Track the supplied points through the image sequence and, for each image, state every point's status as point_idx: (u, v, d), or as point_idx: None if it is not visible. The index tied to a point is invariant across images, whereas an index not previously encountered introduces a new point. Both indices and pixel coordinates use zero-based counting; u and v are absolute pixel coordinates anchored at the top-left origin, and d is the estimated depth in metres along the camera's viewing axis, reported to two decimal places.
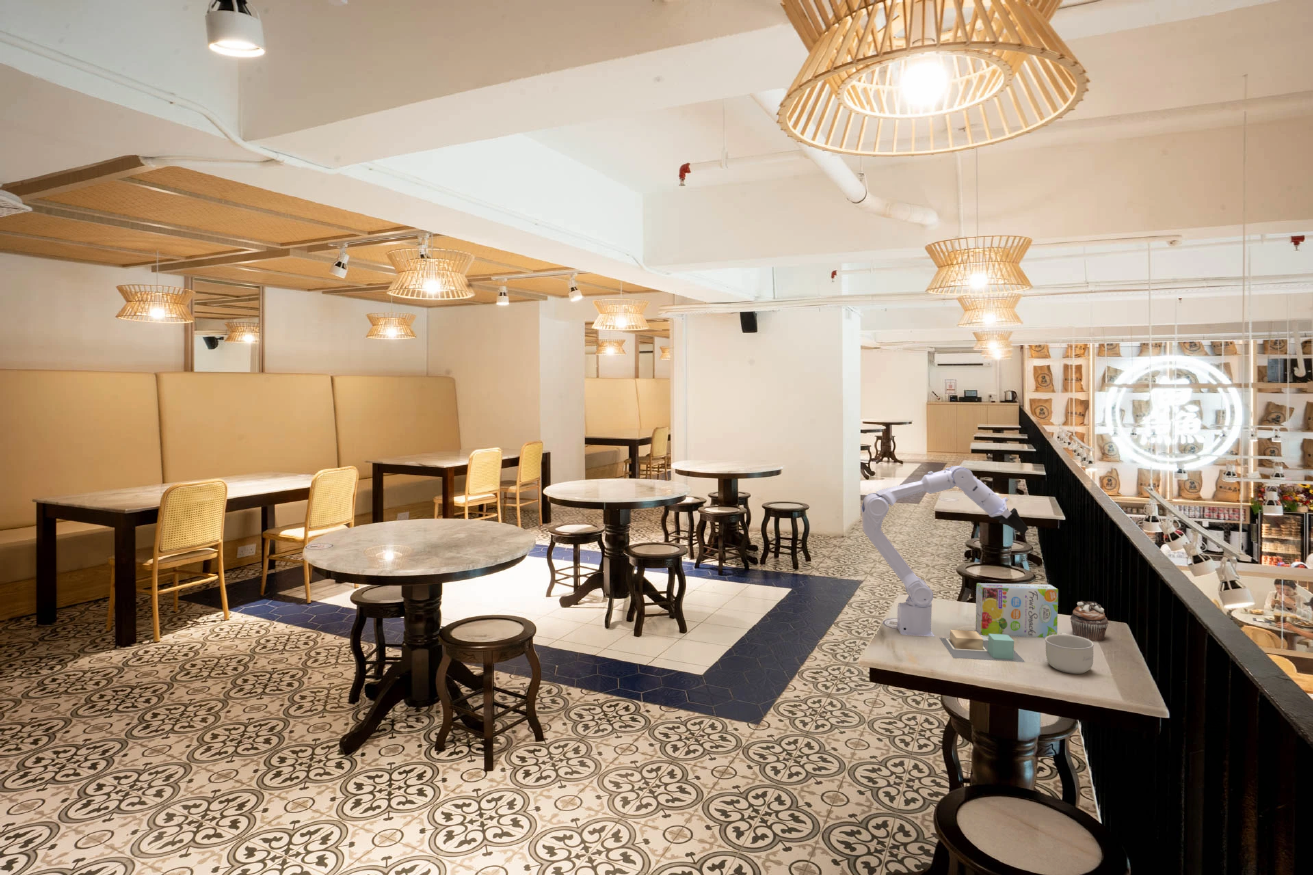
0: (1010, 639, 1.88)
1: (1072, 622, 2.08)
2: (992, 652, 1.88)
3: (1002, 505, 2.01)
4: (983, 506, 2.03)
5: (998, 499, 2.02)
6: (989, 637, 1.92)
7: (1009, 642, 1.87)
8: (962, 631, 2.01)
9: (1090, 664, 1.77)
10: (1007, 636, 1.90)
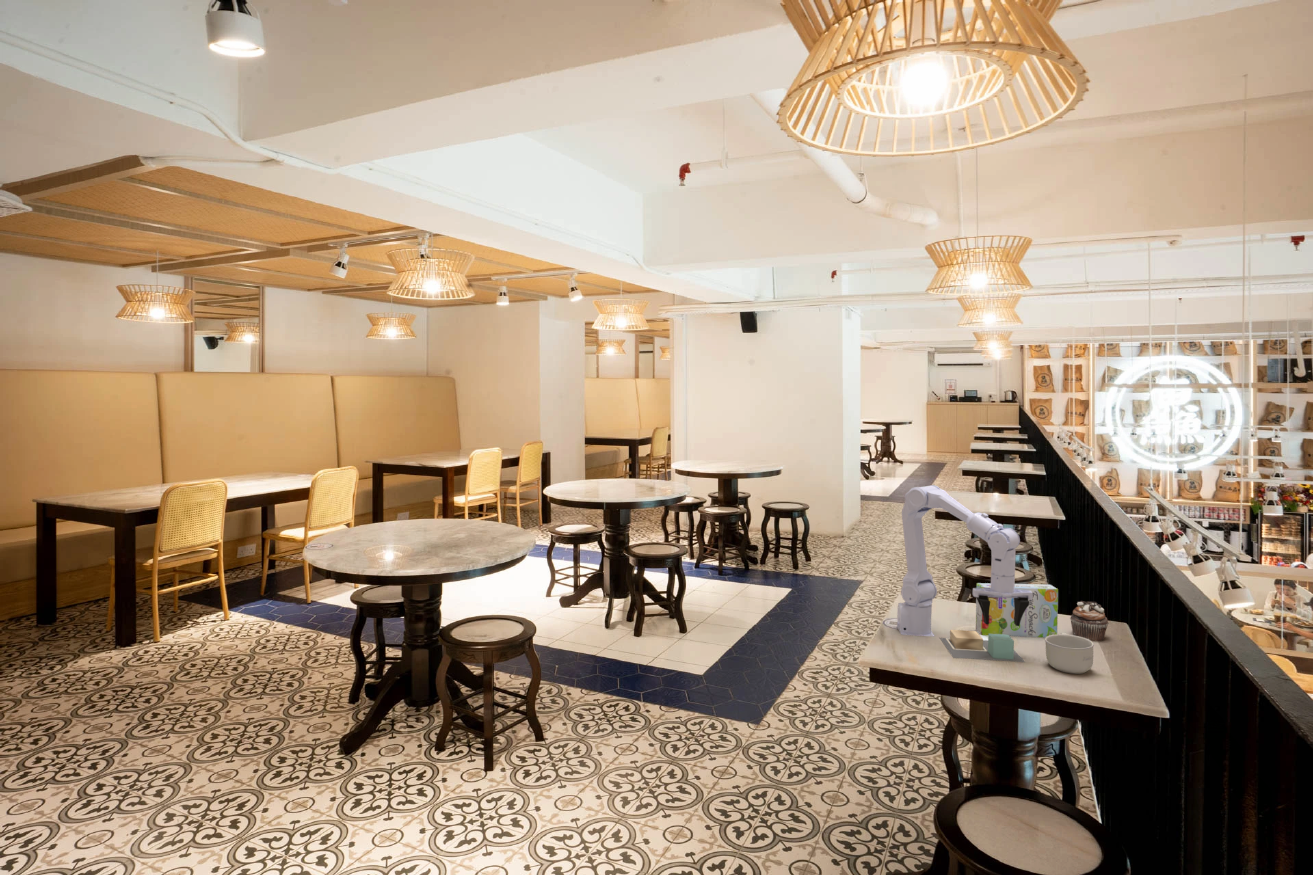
0: (1010, 639, 1.88)
1: (1072, 622, 2.08)
2: (992, 652, 1.88)
3: (993, 591, 1.88)
4: None
5: (997, 585, 1.87)
6: (989, 637, 1.92)
7: (1009, 642, 1.87)
8: (962, 631, 2.01)
9: (1090, 664, 1.77)
10: (1007, 636, 1.90)
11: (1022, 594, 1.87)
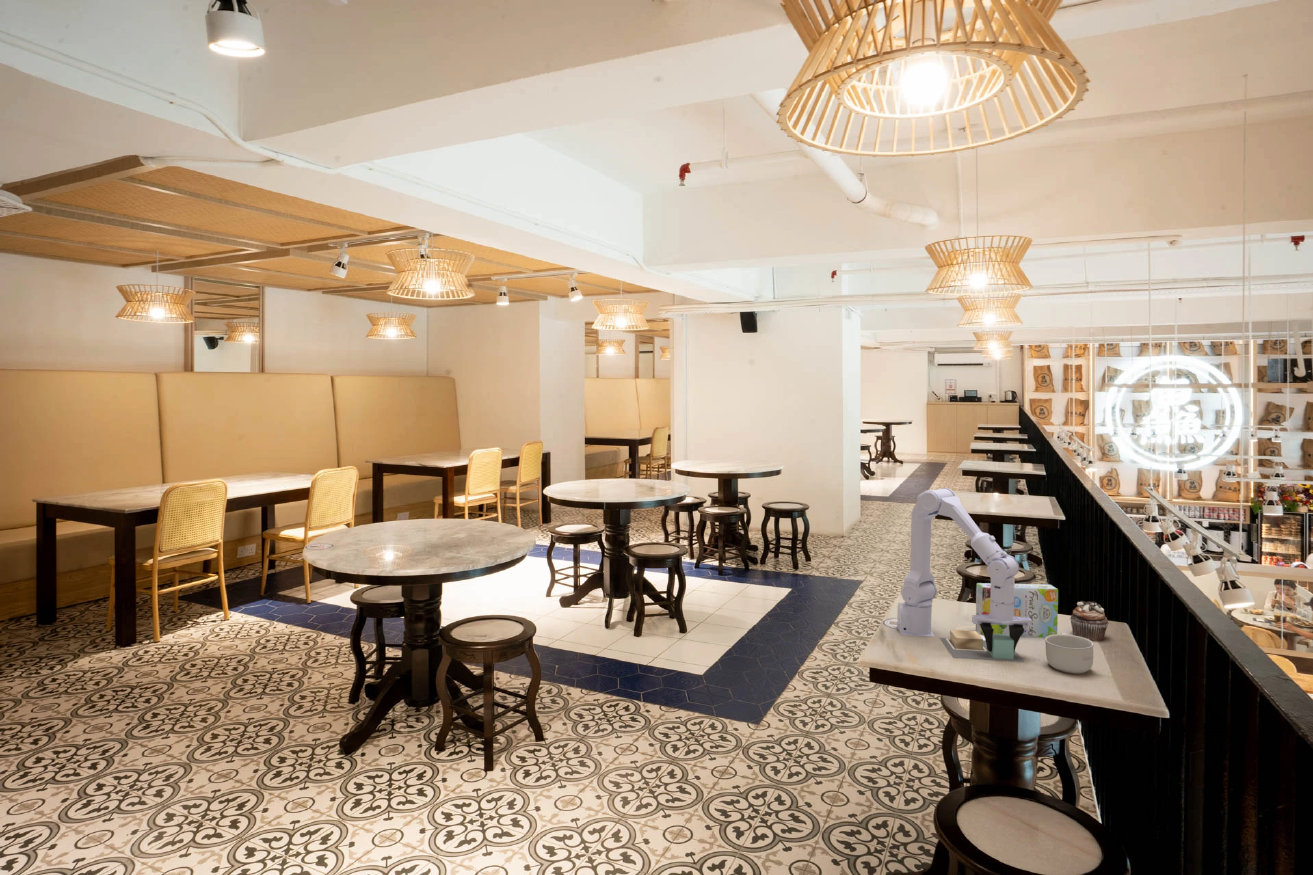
0: (1010, 639, 1.88)
1: (1072, 622, 2.08)
2: (992, 652, 1.88)
3: (992, 618, 1.89)
4: None
5: (996, 612, 1.88)
6: None
7: (1009, 642, 1.87)
8: (962, 631, 2.01)
9: (1090, 664, 1.77)
10: (1007, 636, 1.90)
11: (1021, 621, 1.87)
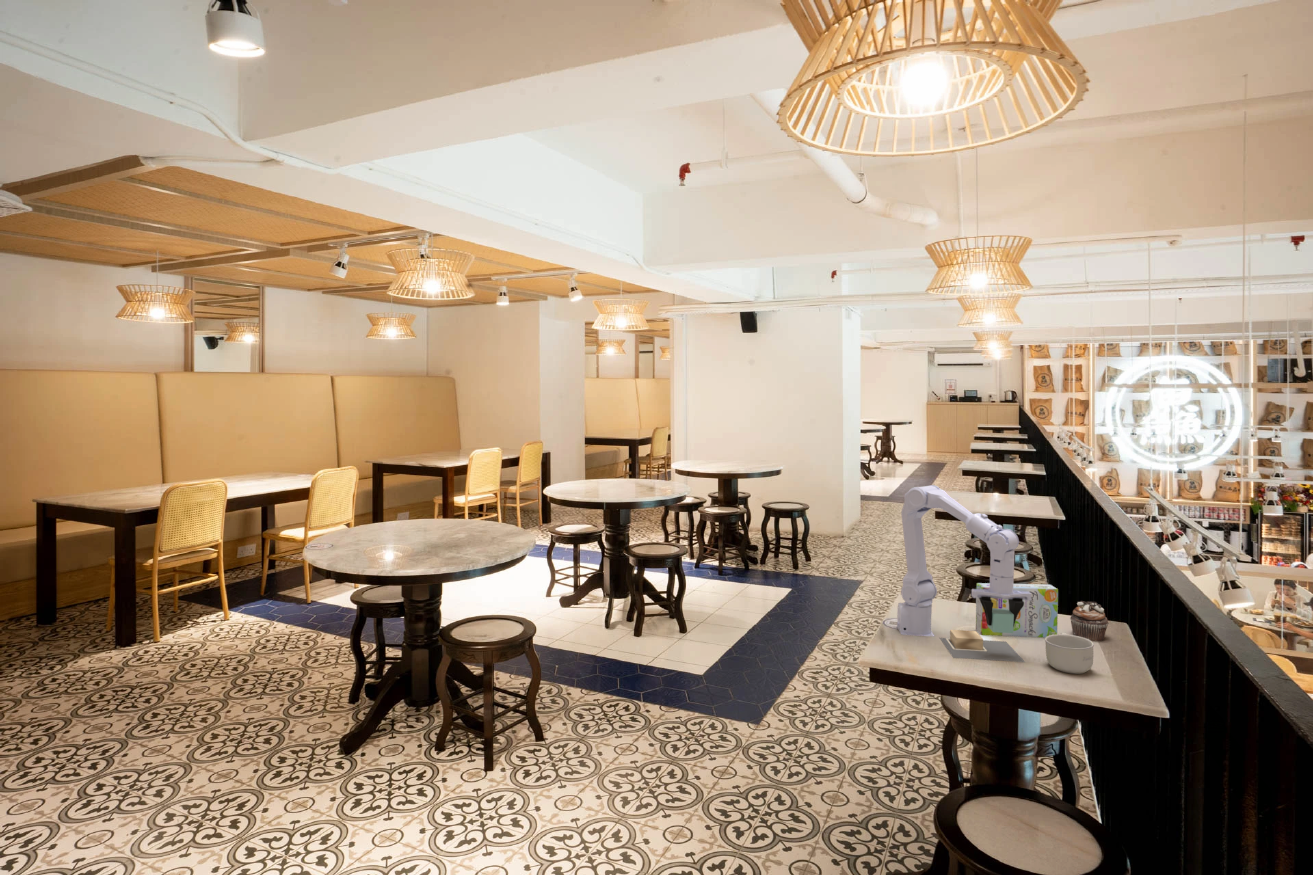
0: (1010, 613, 1.88)
1: (1072, 622, 2.08)
2: (992, 626, 1.88)
3: (992, 592, 1.88)
4: None
5: (995, 586, 1.88)
6: None
7: (1009, 616, 1.87)
8: (962, 631, 2.01)
9: (1090, 664, 1.77)
10: (1007, 610, 1.90)
11: (1021, 595, 1.87)
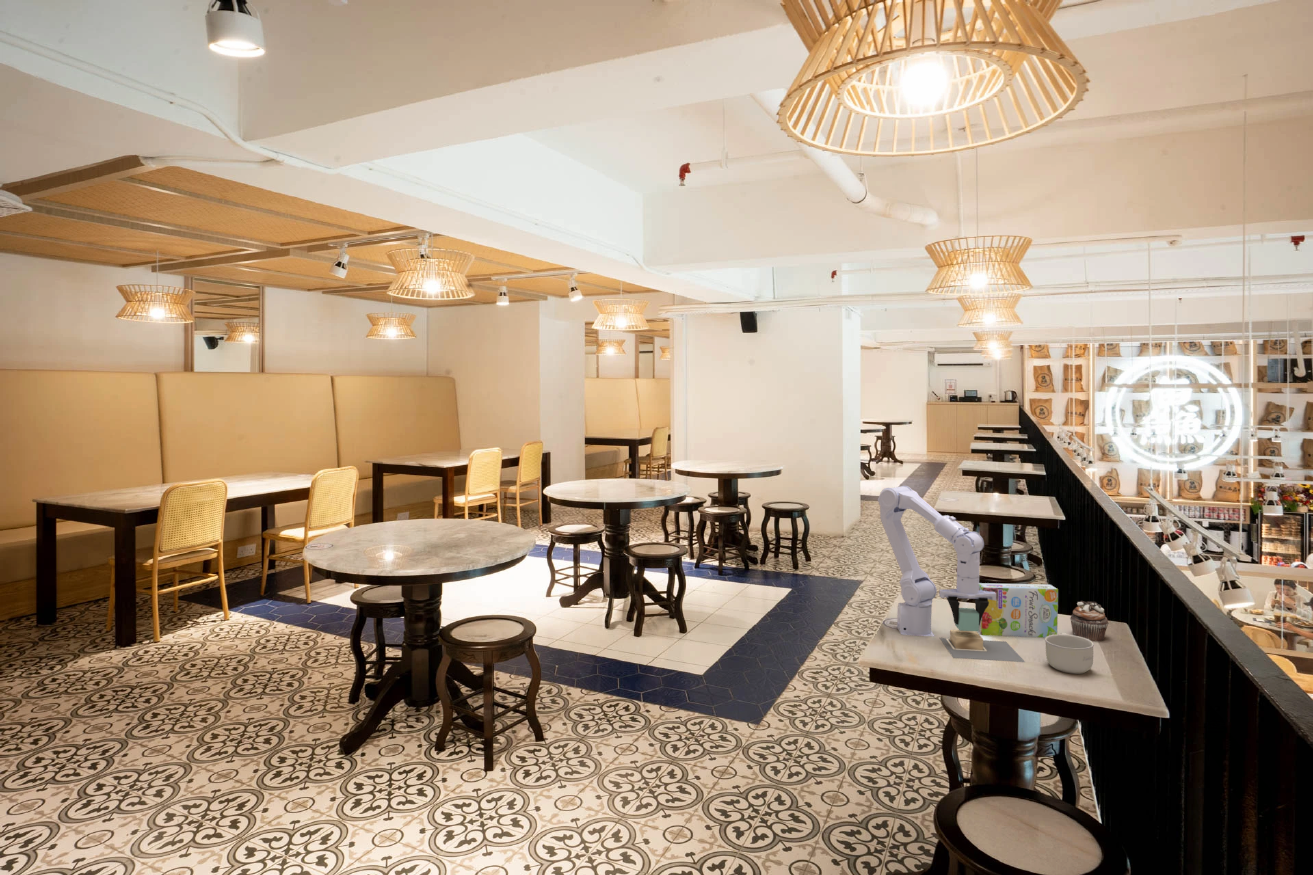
0: (975, 612, 1.96)
1: (1072, 622, 2.08)
2: (959, 624, 1.96)
3: (958, 592, 1.96)
4: None
5: (962, 586, 1.95)
6: None
7: (974, 615, 1.95)
8: (962, 631, 2.01)
9: (1090, 664, 1.77)
10: (973, 609, 1.98)
11: (986, 595, 1.95)
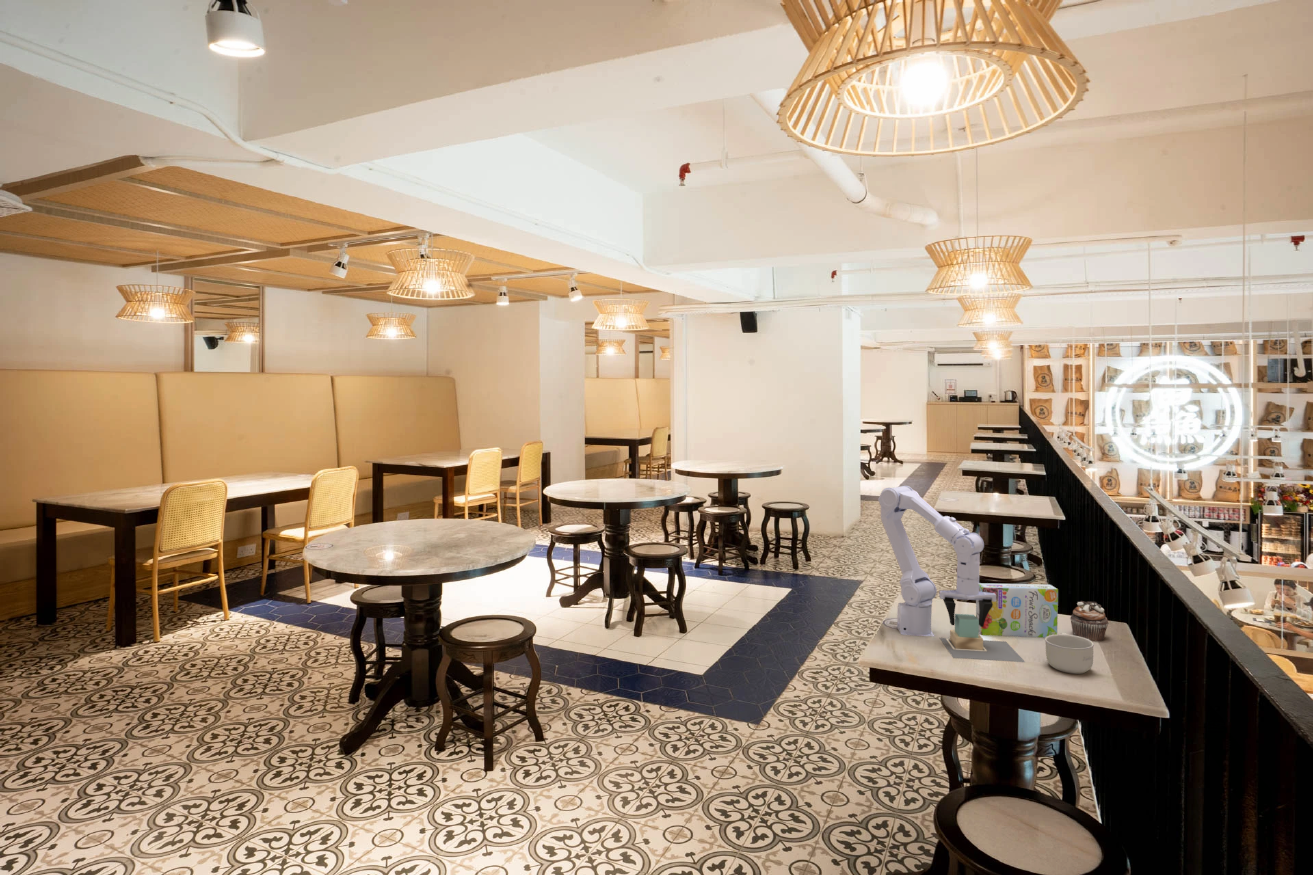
0: (975, 618, 1.96)
1: (1072, 622, 2.08)
2: (958, 631, 1.96)
3: (958, 593, 1.96)
4: None
5: (962, 587, 1.95)
6: (956, 617, 1.99)
7: (974, 621, 1.95)
8: None
9: (1090, 664, 1.77)
10: (973, 616, 1.98)
11: (986, 596, 1.95)
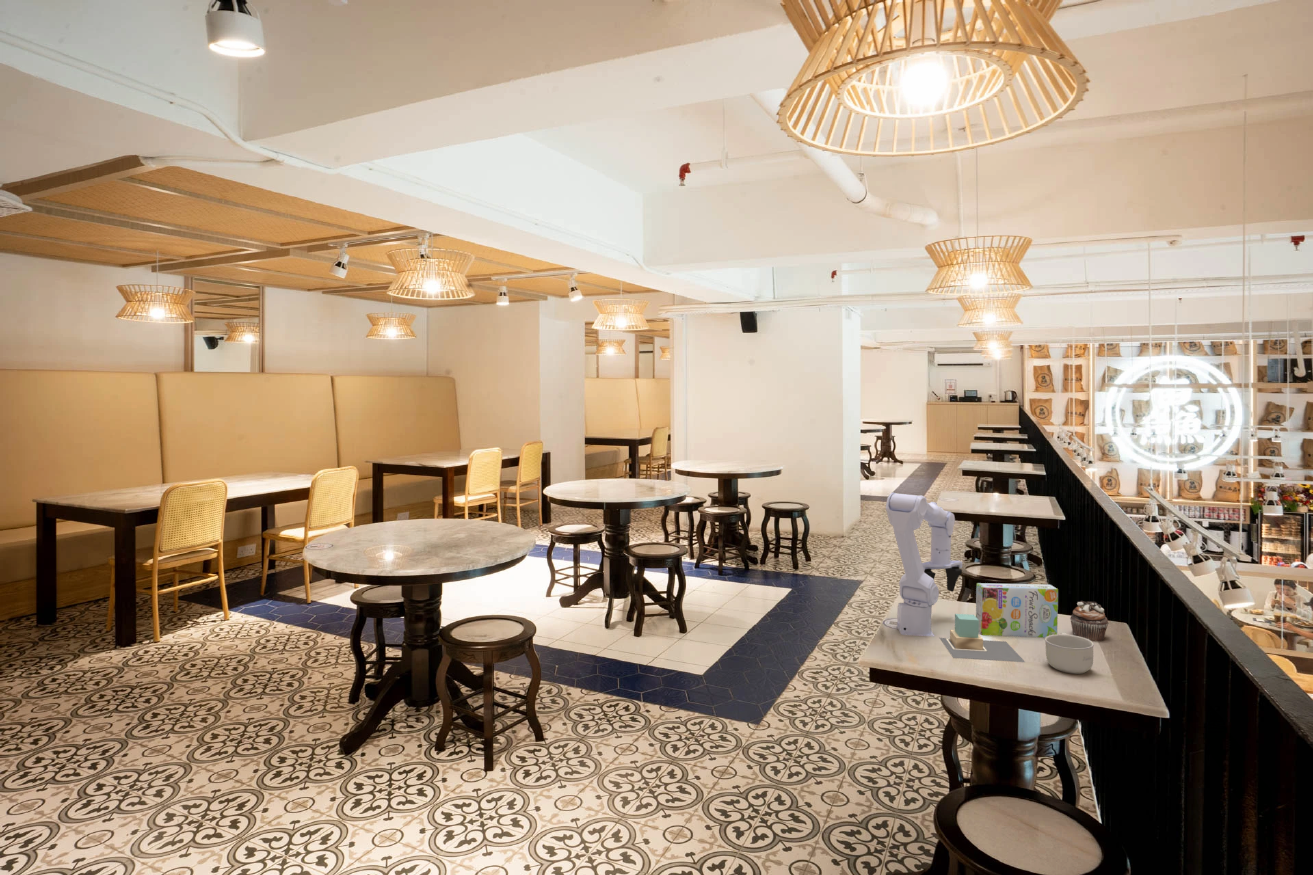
0: (975, 618, 1.96)
1: (1072, 622, 2.08)
2: (958, 631, 1.96)
3: (936, 564, 2.17)
4: None
5: (939, 558, 2.17)
6: (956, 617, 1.99)
7: (974, 621, 1.95)
8: None
9: (1090, 664, 1.77)
10: (973, 616, 1.98)
11: (956, 564, 2.19)
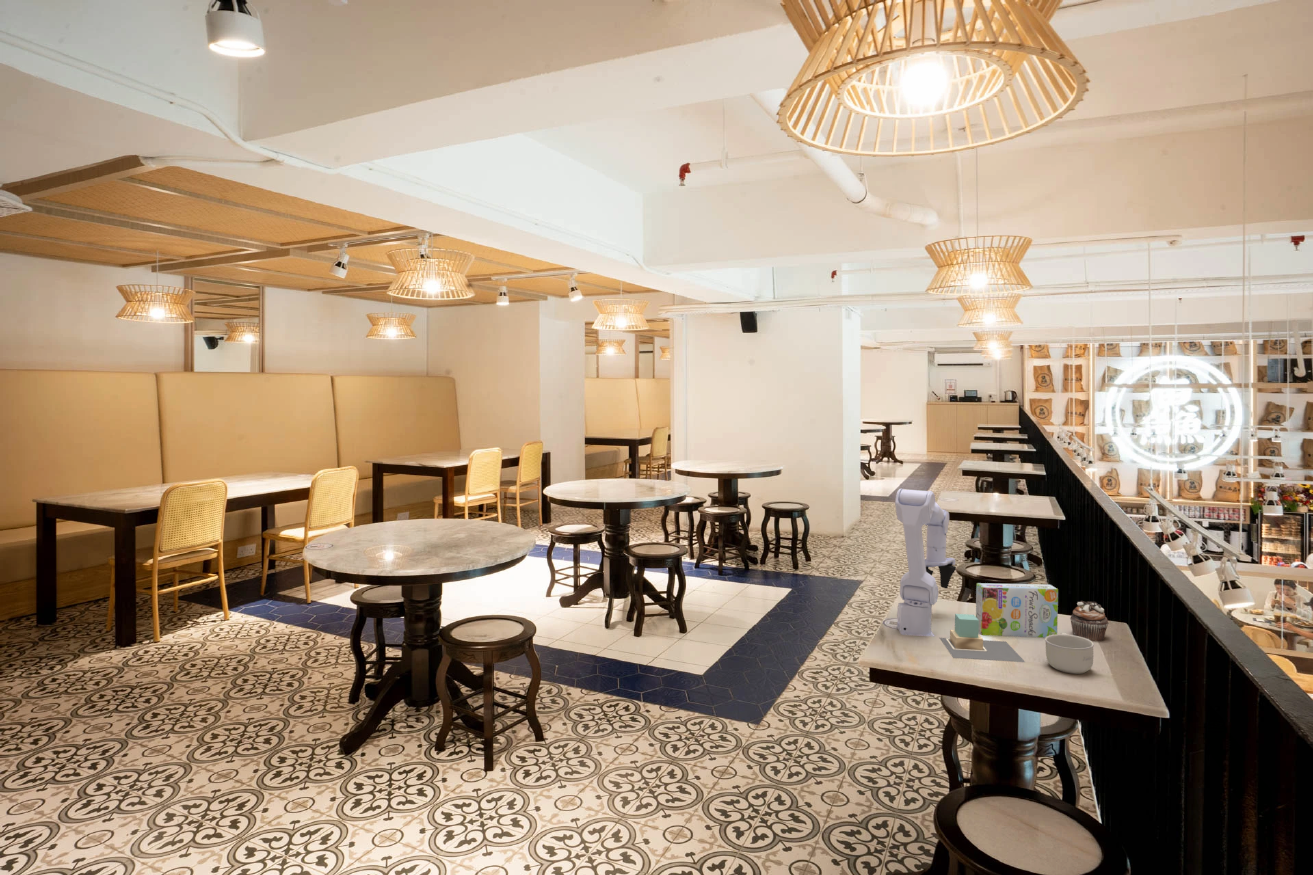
0: (975, 618, 1.96)
1: (1072, 622, 2.08)
2: (958, 631, 1.96)
3: (932, 562, 2.21)
4: None
5: (936, 556, 2.20)
6: (956, 617, 1.99)
7: (974, 621, 1.95)
8: None
9: (1090, 664, 1.77)
10: (973, 616, 1.98)
11: (950, 561, 2.24)
